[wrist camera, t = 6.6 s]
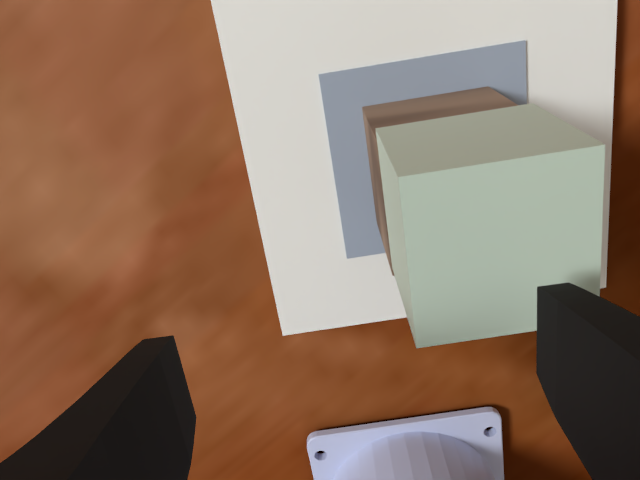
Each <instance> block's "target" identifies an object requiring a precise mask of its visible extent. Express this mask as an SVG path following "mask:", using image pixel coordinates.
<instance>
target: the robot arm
mask: <svg viewBox="0 0 640 480" xmlns="http://www.w3.org/2000/svg"><path fill="white" fill-rule="evenodd" d="M537 375H538V378H539V380H540V383H541V385H542V388H543V390H544V393H545V395H546V397H547V400H548V402H549V404H550V406H551V409H552V411H553V413H554V415H555V417H556V419H557V421H558V423H559V424H560V426H561V428H562V430H563V431H564V433H565V435H566V436H567V438H568V440H569V441H570V443H571V445H572V446H573V448H574V450H575V451H576V453H577V455H578V456H579V458H580V460H581V461H582V463H583V465H584V466H585V468H586V470H587V471H588V473H589V475H590V476H591V478H592V480H640V317H639V316H637V315H635V314H633V313H631V312H629V311H627V310H625V309H623V308H621V307H619V306H617V305H615V304H613V303H611V302H609V301H607V300H605V299H603V298H601V297H599V296H597V295H595V294H593V293H591V292H589V291H587V290H585V289H583V288H581V287H579V286H576V285H574V284H571V283H569V282H568V283H561V284H553V285H546V286H538V287H537ZM195 424H196V415H195V411H194V407H193V404H192V400H191V397H190V393H189V390H188V386H187V382H186V379H185V375H184V372H183V368H182V364H181V361H180V357H179V354H178V350H177V347H176V343H175V339H174V336H166V337H159V338H151V339H144V340H142V341H141V342H140V343H138V344H137V345H136V346H135V347H134V348H133V349H132V350H130V351H129V352H128V353H127V354H126V355H125V356H124V357H123V358H122V359H121V360H120V361H119V362H118V363H117V364H116V365H115V366H113V367H112V368H111V369H110V370H109V371H108V372H107V373H106V374H105V375H104V376H103V377H102V378H101V379H100V380H99V381H98V382H97V383H95V384H94V385H93V386H92V387H91V388H90V389H89V390H88V391H87V392H86V393H85V394H84V395H83V396H82V397H81V398H79V399H78V400H77V401H76V402H75V403H74V404H73V405H72V406H70V407H69V408H68V409H67V410H66V411H65V412H63V413H62V414H61V415H60V416H59V417H58V418H56V419H55V420H54V421H53V422H52V423H51V424H49V425H48V426H47V427H46V428H45V429H44V430H42V431H41V432H40V433H39V434H38V435H37V436H35V437H34V438H33V439H32V440H30V441H29V442H28V443H27V444H25V445H24V446H23V447H21V448H20V449H19V450H17V451H16V452H15V453H14V454H12V455H11V456H9V457H8V458H7V459H5V460H4V461H2V462H1V463H0V480H187V478H188V474H189V470H190V465H191V459H192V452H193V444H194V434H195ZM488 427H493V428H491V429H490V430H485V429H486V428H488ZM307 450H308V454H309V459H310V464H311V468H312V473H313V478H314V480H504V463H503V441H502V419H501V416H500V414H499V412H498V410H497V409H496V408H493V407H482V408H475V409H468V410H461V411H454V412H447V413H440V414H433V415H426V416H419V417H412V418H405V419H398V420H391V421H384V422H377V423H370V424H363V425H356V426H349V427H342V428H335V429H328V430H320V431H315V432H312V433H311V434H310V435H309V436H308V438H307ZM318 451H324V452H325V453H322V454H321V453H317V452H318Z"/></svg>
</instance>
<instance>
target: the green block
mask: <svg viewBox="0 0 640 480" xmlns="http://www.w3.org/2000/svg"><path fill="white" fill-rule="evenodd" d="M375 129H376V138H377V146H378V154H379V163H380V171H381V179H382V188H383V196H384V204H385V213H386V221H387V229H388V238H389V246H390V254H391V263H392V269H393V272H394V275H395V279H396V282H397V285H398V289H399V292H400V295H401V298H402V302H403V305H404V308H405V312H406V315H407V318H408V322H409V325H410V328H411V331H412V335H413V338H414V341H415V345H416V348H421V347H428V346H435V345H442V344H449V343H455V342H462V341H469V340H476V339H483V338H490V337H497V336H504V335H510V334H517V333H524V332H531V331H537V287H538V286H546V285H553V284H561V283H568V282H569V283H571V284H574V285H576V286H579V287H581V288H583V289H585V290H587V291H589V292H591V293H593V294H595V295H597V296H599V297H600V274H601V247H602V220H603V193H604V165H605V144H603V143H601V142H600V141H598V140H596V139H594V138H593V137H591V136H589V135H587V134H586V133H584V132H582V131H581V130H579V129H577V128H575V127H574V126H572V125H570V124H568V123H567V122H565V121H563V120H561V119H560V118H558V117H556V116H554V115H553V114H551V113H549V112H547V111H546V110H544V109H542V108H540V107H539V106H537V105H535V104H533V103H531V104H524V105H518V106H512V107H506V108H499V109H493V110H487V111H481V112H474V113H468V114H462V115H456V116H449V117H443V118H437V119H431V120H424V121H418V122H412V123H406V124H399V125H393V126H387V127H381V128H375Z"/></svg>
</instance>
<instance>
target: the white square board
mask: <svg viewBox="0 0 640 480" xmlns="http://www.w3.org/2000/svg"><path fill="white" fill-rule="evenodd" d="M617 2H618V0H211V3H212V8H213V13H214V17H215V22H216V27H217V31H218V36H219V41H220V45H221V50H222V55H223V59H224V64H225V69H226V73H227V78H228V83H229V87H230V92H231V97H232V101H233V106H234V110H235V115H236V120H237V124H238V129H239V134H240V138H241V143H242V148H243V152H244V157H245V162H246V166H247V171H248V176H249V180H250V185H251V190H252V194H253V199H254V204H255V208H256V213H257V218H258V222H259V227H260V232H261V236H262V241H263V246H264V250H265V255H266V260H267V264H268V269H269V274H270V278H271V283H272V288H273V292H274V297H275V301H276V306H277V311H278V315H279V320H280V325H281V329H282V334H283V336H284V335H291V334H297V333H304V332H311V331H317V330H324V329H331V328H338V327H344V326H351V325H358V324H365V323H371V322H378V321H385V320H391V319H398V318H405V317H407V315H406V312H405V308H404V305H403V302H402V298H401V295H400V292H399V289H398V285H397V282H396V279H395V276H392V272H391V269H390V266H389V262H388V259H387V255H386V252H385V249H384V245H383V242H382V238H381V235H380V232H379V228H378V225H377V221H376V213H375V205H374V197H373V190H372V182H371V174H370V166H369V158H368V151H367V143H366V135H365V127H364V120H363V112H362V107H364V106H370V105H376V104H382V103H389V102H395V101H401V100H407V99H413V98H419V97H425V96H432V95H438V94H444V93H450V92H456V91H462V90H468V89H475V88H481V87H487V86H488V87H490V88H492V89H493V90H495V91H497V92H498V93H500V94H501V95H503V96H505V97H506V98H508V99H509V100H511V101H513V102H514V103H516V104H517V105H524V104H531V103H533V104H535V105H537V106H539V107H540V108H542V109H544V110H546V111H547V112H549V113H551V114H553V115H554V116H556V117H558V118H560V119H561V120H563V121H565V122H567V123H568V124H570V125H572V126H574V127H575V128H577V129H579V130H581V131H582V132H584V133H586V134H587V135H589V136H591V137H593V138H594V139H596V140H598V141H600V142H601V143H603V144H605V165H604V193H603V220H602V247H601V274H600V288H606V276H607V251H608V226H609V201H610V176H611V151H612V127H613V102H614V77H615V52H616V27H617Z"/></svg>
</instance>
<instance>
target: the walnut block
mask: <svg viewBox="0 0 640 480" xmlns="http://www.w3.org/2000/svg"><path fill="white" fill-rule="evenodd" d="M512 106H518V105H517V104H516V103H514V102H513V101H511V100H509V99H508V98H506V97H505V96H503V95H501V94H500V93H498V92H497V91H495V90H493V89H492V88H490V87H488V86H487V87H481V88H475V89H468V90H462V91H456V92H450V93H444V94H438V95H432V96H425V97H419V98H413V99H407V100H401V101H395V102H389V103H382V104H376V105H370V106H364V107H362V112H363V120H364V127H365V135H366V143H367V151H368V158H369V166H370V174H371V182H372V190H373V197H374V205H375V213H376V221H377V225H378V228H379V232H380V235H381V238H382V242H383V245H384V249H385V252H386V255H387V259H388V262H389V266H390V269H391V272H392V276H395V275H394V272H393V269H392V263H391V254H390V246H389V238H388V229H387V221H386V213H385V204H384V196H383V188H382V179H381V171H380V163H379V154H378V146H377V138H376V129H375V128H381V127H387V126H393V125H399V124H406V123H412V122H418V121H424V120H431V119H437V118H443V117H449V116H456V115H462V114H468V113H474V112H481V111H487V110H493V109H499V108H506V107H512Z"/></svg>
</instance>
